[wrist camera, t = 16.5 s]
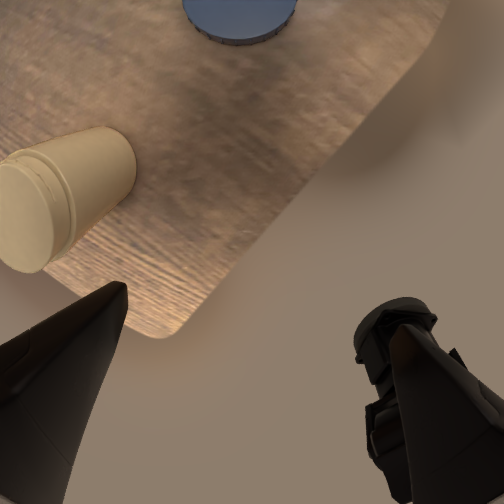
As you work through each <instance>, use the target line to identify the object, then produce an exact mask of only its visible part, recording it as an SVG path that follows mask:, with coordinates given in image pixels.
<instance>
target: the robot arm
mask: <svg viewBox="0 0 504 504" xmlns="http://www.w3.org/2000/svg"><path fill="white" fill-rule="evenodd" d="M127 311H128V292H127V285H126V284H125V283H123V282H119V281H112V282H110V283H108V284H107V285H105V286H103V287H101V288H99V289H98V290H96V291H94V292H92V293H90V294H89V295H87V296H85V297H83V298H82V299H80V300H78V301H77V302H75V303H73V304H71V305H70V306H68V307H66V308H64V309H63V310H61V311H59V312H57V313H55V314H54V315H52V316H50V317H49V318H47V319H46V320H43V321H42V322H40V323H39V324H37V325H35V326H33V327H32V328H31V329H30V330H29V329H28V330H26V331H25V332H23V333H22V334H20V335H18V336H16V337H15V338H13V339H11V340H10V341H8V342H6V343H4V344H2V345H1V346H0V504H62V503H63V500H64V496H65V492H66V489H67V485H68V481H69V478H70V475H71V471H72V466H73V464H74V461H75V458H76V455H77V452H78V448H79V446H80V443H81V439H82V436H83V434H84V431H85V428H86V425H87V422H88V419H89V417H90V414H91V411H92V409H93V406H94V403H95V401H96V398H97V395H98V393H99V390H100V388H101V385H102V383H103V380H104V378H105V375H106V373H107V370H108V368H109V365H110V363H111V361H112V358H113V356H114V353H115V350H116V347H117V343H118V340H119V337H120V333H121V330H122V327H123V324H124V320H125V317H126V314H127ZM386 314H387V315H386ZM385 315H386V316H385ZM437 319H438V318H437V316H436V315H435V314H431V313H421V312H412V311H403V310H394V309H385V310H383V311H382V312H381V313H380V315H379V317H378V319H377V321H376V323H375V324H374V326H373V328H372V330H371V331H370V333H369V335H368V337H367V338H366V340H365V342H364V344H363V345H362V347H361V349H360V351H359V352H358V354H357V356H356V357H355V360H356V363H357V364H365V368H366V371H367V374H368V377H369V380H370V382H371V384H372V385H375V387H376V390H377V393H378V396H379V400H378V401H376V402H374V403H371V404H369V405H367V406H366V407H365V411H366V415H365V418H366V435H367V450H368V454H369V457H370V458H371V459H373V462H374V463H375V465H376V466H377V467H378V468H379V469H380V470H381V471H383V473H384V475H385V477H386V480H387V483H388V486H389V489H390V492H391V496H392V498H393V499H395V500H396V501H397V502H398V503H399V504H407V503H410V502H413V504H504V400H503V399H501V398H500V397H499V396H498V395H497V394H495V393H494V392H493V391H492V390H490V389H489V388H488V387H487V386H486V385H484V384H483V383H482V382H481V381H480V380H478V379H477V378H476V377H475V376H474V375H473V374H471V373H470V372H469V371H468V369H467V367H466V366H465V364H464V362H463V361H462V359H461V357H460V356H459V354H458V352H457V351H456V349H455V348H453V349H452V350H451V351H450V353H449V354H447V353H446V352H445V351H444V350H442V349H441V348H440V347H439V345H438V344H437V342H436V340H435V338H434V337H433V335H432V333H431V332H430V331H431V329H432V328H433V326H434V325H435V323H436V322H437Z"/></svg>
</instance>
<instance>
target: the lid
mask: <svg viewBox="0 0 504 504" xmlns="http://www.w3.org/2000/svg"><path fill="white" fill-rule="evenodd" d="M182 1H183V8H184V10H185V12H186V14H187V16H188V19H189V21H190V22H191V23H193V24H194V25H195V26H196V27H195V28H196V29H197V30H198V31H199V32H202V33H203V34H204V35H205V36H207V37H208V38H209V39H210V40H211V39H213V40H215V41H218V42H221V43H222V44H224V43H225V44H231V45H236V46H238V45H247V44H250V45H252V44H253V43H258V42H260V41H263V40H264V41H266V39H268V38H270V37H272V36H273V35H275V34H276V35H277V34H278V32H279V31H280V30H281V29H282V28H283V27H284V26H287V23H288V21H289V19H290V17H291V16H292V15H293V13H294V11H295V10H294V8H295V5H296V2H297V0H182Z"/></svg>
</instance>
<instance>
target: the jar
mask: <svg viewBox="0 0 504 504" xmlns="http://www.w3.org/2000/svg"><path fill="white" fill-rule="evenodd" d="M136 168H137V166H136V159H135V155H134V152H133V149H132V147H131V145H130V144H129V142H128V141H127V140H126V138H125V137H124V136H123V135H122V134H120V133H119V132H117V131H116V130H114V129H112V128H109V127H103V126H96V127H91V128H88V129H84V130H80V131H76V132H73V133H69V134H66V135H62V136H59V137H56V138H53V139H49V140H46V141H43V142H40V143H37V144H34V145H31V146H28V147H26V148H23V149H20V150H18V151H15V152H13V153H12V154H10V155H9V156H8V157H7V158H6V159H5V160H3V161H1V162H0V259H1V260H2V261H3V262H4V263H5V264H7V265H8V266H10V267H11V268H13V269H15V270H17V271H19V272H23V273H35V272H37V271H40V270H42V269H43V268H44V267H45V266H46V265H47V264H48V263H49V262H53V261H56V260H58V259H60V258H62V257H63V256H64V255H65V254H66V253H67V252H68V251H69V250H70V249H71V248H72V247H73V246H74V245H75V244H76V243H77V242H78V241H79V240H80V239H81V238H82V237H83V236H84V235H85V234H86V233H87V232H88V231H89V230H90V229H91V228H92V227H93V226H95V225H96V224H97V223H98V222H99V221H100V220H101V219H102V218H103V217H104V216H105V215H106V214H107V213H109V212H110V211H111V210H112V209H113V208H114V207H115V206H116V205H118V204H119V203H120V202H121V201H122V200H123V199H124V198H125V197H126V196H127V195H128V194H129V192H130V191H131V189H132V187H133V185H134V182H135V178H136Z"/></svg>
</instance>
